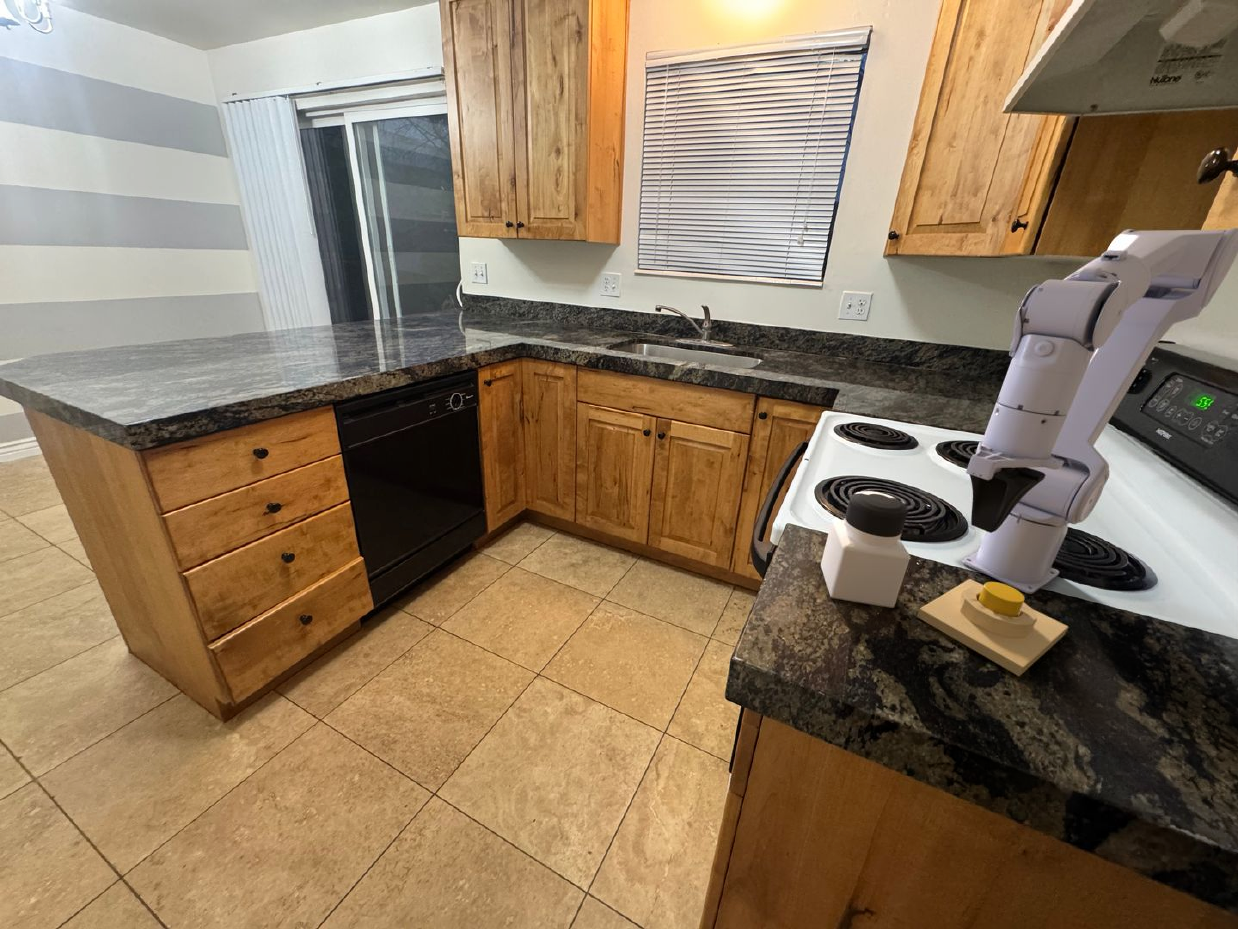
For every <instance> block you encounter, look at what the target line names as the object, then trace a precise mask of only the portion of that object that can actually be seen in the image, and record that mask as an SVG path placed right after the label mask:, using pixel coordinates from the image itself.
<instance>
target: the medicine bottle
mask: <svg viewBox="0 0 1238 929" xmlns="http://www.w3.org/2000/svg"><path fill="white" fill-rule="evenodd" d="M908 514H909V509H908V508H907V506H906V505H905V503H904V502H902V501H900V500H899V499H897V498H896V497H894V496H892V495H890V494H886V493H884V492H879V491H870V490H869V491H868V490H867V491H865V490H864V491H857V492H855V493H853V494H851V495H850V496H849V501H848V504H847V509H846V512H845V516H844V519H840V518H833V519H832V520H831V521H830V527H829V530H828V533H827V534H828V535H827V539H826V543H825V546H824V549H823V554H822V558H821V562H820V568H821V571H822V575H823V578H824V581H825V585H826V587H827V591H828V595H829V597H830V598H831V599H834V600H841V601H847V602H851V603H859V604H864V605H865V604H866V605H872V606H878V607H883V608H890V609H893V608H895V607H896V604H897V601H898V597H899V595H900V592H901V589H902V586H903V582H904V579H905V577H906V574H907V571H908V568H909V564H910V563H911V562H910V561H911V559H912V558H911V555H910V553H909V552H908V550H907V549H906V547H905V545H904V544H903V542H902V541H901V537H902V533H903V530H904V527H905V523H906V520H907V517H908Z"/></svg>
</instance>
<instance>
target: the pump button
mask: <svg viewBox="0 0 1238 929" xmlns="http://www.w3.org/2000/svg"><path fill="white" fill-rule="evenodd" d="M983 585H984V587H983V589H982V592H981V594H980V597H979V599H978V600H979V603H981V604H982V605H983V606H984V607H985V608H987V609H989V610H991V611H993V612H995V613H998V614H1001V615H1005V616H1008V617H1016V616H1017V615H1018V614H1019V611H1020V609H1021V607H1022V605H1023V602H1024V603H1025V598H1026V597H1025V596H1024V594H1023V593H1021V592H1020V590H1019V589H1016V588H1014V587H1012V586H1010V585H1008V584H1006V583H1003V582H997V581H988V582H987V581H986V582H985V583H984V584H983Z"/></svg>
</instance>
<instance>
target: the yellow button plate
mask: <svg viewBox="0 0 1238 929" xmlns="http://www.w3.org/2000/svg"><path fill="white" fill-rule="evenodd" d="M983 587H984V584H981V583H979V582H977V581H976V580H973V579H971V578H969V579H967V580H966V581H963V582H962V583H960V584H959V585H957V586H956V587H953V588H952V589H950V590H948V591H947V592H945V593H944V594H942V595H939V597H937V598H935V599H933V600H931V601H930V602H928V603H927V604H925V605H923V606H922V607H920V608H918V613H917V615H916V618H917V619H920V620H922V621H923V622H924V623H926V624H928V625H930V626H931V627H933V628H935V629H937V630H939V631H940V632H942V633H944V634H946V635H948V636H949V637H950V638H952V639H953V640H956V641H958V642H959V643H961V644H963V645H964V646H966V647H968V648H969V649H970V650H973V651H975V652H976V653H978V654H979V655H982V656H983V657H985V658H986V659H989V660H990V661H992V662H994V663H995V664H997V665H999V666H1001V667H1002V668H1004V669H1006V670H1007V671H1009V672H1011V673H1012V674H1015V676H1018V677H1020V676H1021V675H1023V673H1025V672H1026V671H1027V670H1028V669H1029V668H1031V666H1032V665H1033V664H1035V663H1036V662H1037V661H1038V660H1039V659H1040V658H1041V657H1042V656H1044V655H1045V654H1046V653H1047V652H1048V651H1049V650H1050V649H1051V648H1053V647H1054V645H1056V643H1058V641H1060V640H1061V639H1062V638H1063V637H1064V636H1065V635H1066V634H1067V631H1068V630H1069V626H1068V625H1066V624H1064V623H1062V622H1061V621H1058V620H1056V619H1054V618H1052V617H1049V616H1048V615H1046V614H1044V613H1042V612H1040V611H1038V610H1035V609H1034V608H1032V607H1030V606H1029V605H1028V604H1027V603H1026V602H1025V601H1024V602H1023V605H1022V607H1021V609H1020V611H1019V614H1018V615H1017V616H1016V617H1008V616H1005V615H1001V614H998V613H995V612H993V611H991V610H989V609H987V608H985V607H984V606H983V605H982V604H981V603H979V600H978V599H979V597H980V594H981V592H982V589H983Z"/></svg>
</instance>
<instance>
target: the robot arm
mask: <svg viewBox="0 0 1238 929" xmlns="http://www.w3.org/2000/svg"><path fill="white" fill-rule="evenodd" d="M1237 255H1238V227H1230V228H1227V229H1184V230H1183V229H1177V230H1175V229H1174V230H1173V229H1172V230H1171V229H1167V230H1165V229H1164V230H1135V229H1134V228H1129V229H1124V230H1123V231H1122V232H1121V233H1119V234H1118V235H1116V236H1115V238H1114V239H1113V240H1112V241H1111V243H1110V245H1109V246H1108V248H1107V250H1106V251H1104V252H1103V253H1102V254H1101V255H1100V256H1098V257H1097V258H1095V259H1093V260H1091V261H1089V262H1088V263H1086V264H1085V265H1084V266H1081V267H1080V268H1078V269H1077V270H1076V271H1074V272H1073V273H1071V274H1069V275H1068V276H1066V277H1065V278H1064V279H1051V278H1050V279H1046V280H1045V281H1043V283H1041V284H1035V285H1033V286H1032V287H1030V289H1028V292H1027V293H1026V294H1025V296H1024V298H1023V300H1022V301H1021V304H1020V306H1019V308H1017V309H1018V310H1017V312H1016V316H1015V320H1014V326H1013V337H1012V340H1011V341H1012V342H1011V343H1010V347H1009V350H1008V351H1009V353H1008V356H1009V357H1011V358H1012V359H1011V360H1010V364H1009V366H1008V369H1007V372H1006V375H1005V378H1004V380H1003V383H1002V386H1001V387H1000V388H1001V389H1000V391H999V394H998V397H997V399H996V401H995V404H994V408H993V411H992V413H991V416H990V419H989V421H988V424H987V427H986V429H985V433H984V435H983V437H982V440H980V441H979V442H978V445H977V448H976V452H975V454H972V455H971V456H970V460H969V462H968V465H967V468H966V471H965V473H966V474H967V475H969V477H970V481H971V482H970V483H971V488H972V502H971V503H972V504H971V516H970V517H971V518H970V519H971V520H970V525H971V526H972V527H975V528H977V529H980V530H982V531H984V532H985V534H984V536H983V538H982V541H981V544H980V545H979V549H978V551H977V552H974V553H973V554H971V555H969V556H967V557H965V558H964V559H962V564H964V565H965V566H967V567H969V568H972V569H973V570H976V571H978V572H980V573H981V574H984V575H987V576H988V577H991V578H993V579H995V580H998V581H1000V583H1003V584H1005V585H1008V586H1010V587H1012V588H1014V589H1016V590H1018V591H1021V592H1023V593H1025V594H1027V595H1032V594H1034V593H1036V592H1037V591H1038V590H1039V589H1041V588H1042V587H1044V586H1045V585H1046V584H1048V583H1049V582H1050V581H1052V580H1053V579H1055V578H1056V577H1058V575H1060V570H1058V569H1056V568H1053V564H1054V561H1055V559H1056V557H1057V555H1058V554H1059V551H1060V549H1061V547H1062V544H1063V542H1064V540H1065V538H1066V536H1067V533H1068V529H1069V528H1068V526H1069V524H1072V525H1077V524H1079V523H1082V522H1084V521H1085V520H1087V518H1088V517H1089V516H1090V515H1091V513H1092V512H1093V510H1094V508H1095V507H1096V505H1097V503H1099V502H1098V501H1099V500H1100V497H1101V496H1102V493H1103V491H1104V487H1105V485H1106V484H1107V482H1108V480H1109V478H1110V473H1111V472H1110V465H1109V462H1108V461H1107V460H1106V458H1104V456H1103V455H1102V454H1101V453H1100V452H1099V451H1098V450H1097V449H1096V447H1095V444H1096V442H1098V439H1099V438H1100V436H1101V435H1102V433H1103V431H1104V429H1105V428H1106V426H1107V424H1108V423H1109V422H1110V420H1111V418H1112V417H1113V416H1114V413H1115V412H1116V410H1117V409H1118V407H1119V405H1120V404H1121V402H1122V400H1123V399H1124V397H1125V396H1126V394H1127V393H1128V390H1129V389H1130V387H1131V386H1132V384H1133V382H1134V381H1135V379H1136V377H1137V376H1138V374H1139V372H1140V371H1141V369H1142V368H1143V366H1144V365H1145V363H1146V361H1147V360H1148V358H1149V356H1150V355H1151V353H1152V352H1153V350H1154V348H1155V347H1156V346H1157V344H1158V343H1159V342H1160V341H1161V339H1163V337H1164V336H1165V335H1166V333H1167V332H1168V331H1169V330H1170V329H1171V328H1172V326H1173V325H1174V324H1177V323H1181V322H1184V321H1188V320H1190V319H1194V318H1197V317H1199V316H1200V314H1201V312H1202V311H1203V309H1204V308H1206V307H1208V306H1209V304H1210V303H1211V301H1212V299H1213V298H1214V296H1215V294H1216V293H1217V291H1218V289H1219V288H1220V286H1221V284H1222V283H1223V281H1224V280H1225V278H1226V276H1227V275H1228V273H1229V271H1230V269H1231V268H1232V266H1233V264H1234V262H1235V259H1236V258H1237Z"/></svg>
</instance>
